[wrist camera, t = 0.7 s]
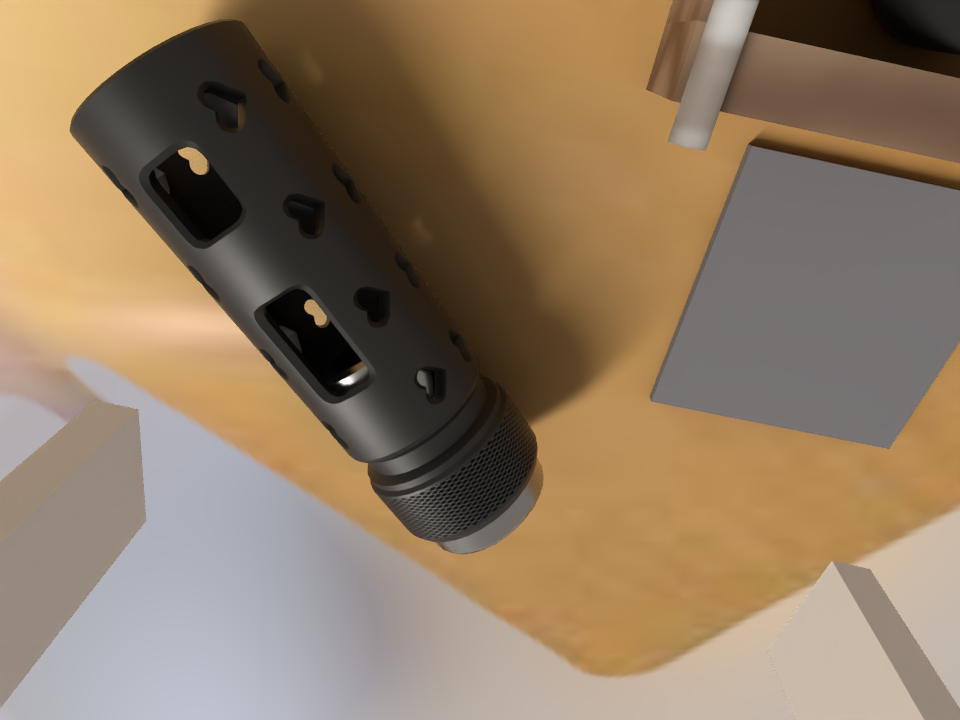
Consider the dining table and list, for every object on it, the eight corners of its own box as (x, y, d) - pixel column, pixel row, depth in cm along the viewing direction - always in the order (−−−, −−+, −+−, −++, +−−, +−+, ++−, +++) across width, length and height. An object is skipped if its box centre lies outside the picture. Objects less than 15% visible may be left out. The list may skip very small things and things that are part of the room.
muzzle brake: (284, 16, 30) (180, 8, 21) (552, 419, 41) (560, 529, 32) (155, 121, 33) (14, 154, 24) (436, 472, 43) (413, 588, 34)
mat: (748, 144, 31) (752, 146, 31) (1037, 206, 32) (1046, 209, 31) (649, 396, 39) (651, 401, 39) (884, 443, 40) (889, 448, 39)
